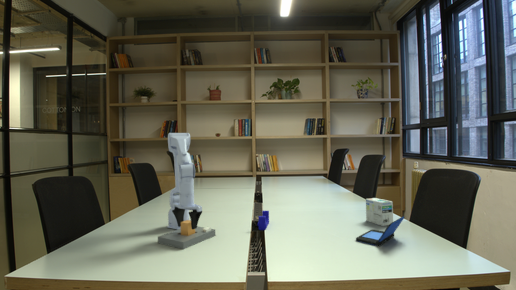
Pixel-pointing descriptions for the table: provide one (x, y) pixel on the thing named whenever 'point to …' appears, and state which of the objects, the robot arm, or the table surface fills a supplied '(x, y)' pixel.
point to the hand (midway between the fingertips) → (187, 227)
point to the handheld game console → (380, 234)
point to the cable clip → (263, 220)
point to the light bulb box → (379, 211)
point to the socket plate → (186, 237)
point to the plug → (187, 228)
